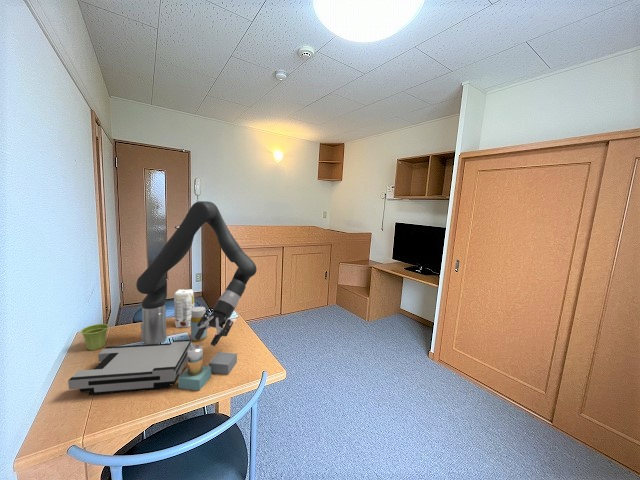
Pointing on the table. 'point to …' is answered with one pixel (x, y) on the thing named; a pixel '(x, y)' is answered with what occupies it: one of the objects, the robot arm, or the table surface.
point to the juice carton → (183, 307)
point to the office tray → (133, 368)
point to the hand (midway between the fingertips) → (204, 342)
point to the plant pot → (95, 336)
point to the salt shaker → (195, 360)
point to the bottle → (195, 318)
